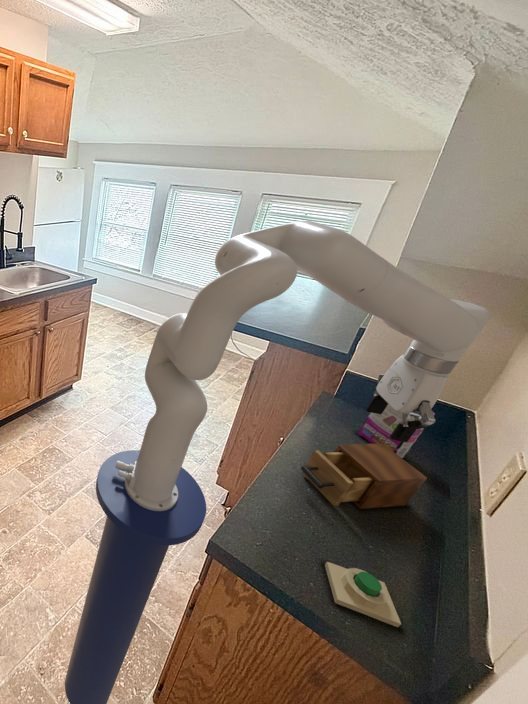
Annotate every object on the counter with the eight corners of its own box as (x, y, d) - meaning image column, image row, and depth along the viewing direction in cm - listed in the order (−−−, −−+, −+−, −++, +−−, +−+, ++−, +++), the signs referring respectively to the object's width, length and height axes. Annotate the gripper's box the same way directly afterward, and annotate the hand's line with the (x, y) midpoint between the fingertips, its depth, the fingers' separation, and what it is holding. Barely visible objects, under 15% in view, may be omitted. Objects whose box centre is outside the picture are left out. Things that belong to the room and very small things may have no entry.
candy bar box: (404, 458, 110) (437, 413, 102) (390, 459, 108) (423, 414, 101) (368, 432, 119) (396, 389, 111) (356, 433, 118) (383, 390, 110)
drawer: (318, 507, 89) (333, 484, 86) (287, 473, 98) (300, 450, 95) (377, 503, 92) (394, 480, 89) (342, 470, 101) (356, 448, 98)
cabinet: (359, 509, 91) (379, 480, 87) (322, 471, 101) (338, 444, 97) (405, 505, 94) (427, 478, 89) (364, 469, 104) (382, 443, 99)
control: (334, 603, 71) (342, 594, 69) (324, 564, 78) (330, 555, 76) (398, 627, 68) (407, 618, 67) (381, 585, 75) (389, 576, 73)
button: (357, 591, 71) (362, 586, 70) (351, 573, 74) (355, 568, 73) (380, 599, 70) (385, 594, 69) (373, 581, 73) (377, 576, 72)
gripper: (384, 338, 85) (348, 399, 93) (437, 378, 70) (388, 448, 78) (421, 344, 84) (381, 406, 92) (483, 387, 69) (429, 456, 77)
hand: (384, 425), depth 85 cm, fingers open, 9 cm apart
